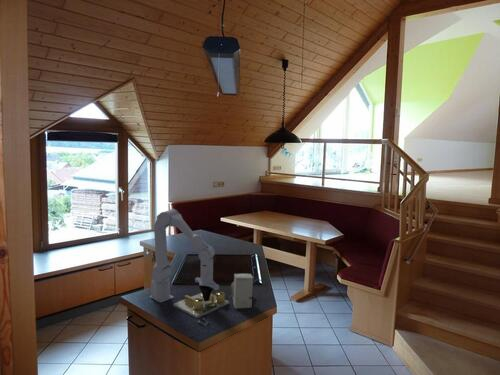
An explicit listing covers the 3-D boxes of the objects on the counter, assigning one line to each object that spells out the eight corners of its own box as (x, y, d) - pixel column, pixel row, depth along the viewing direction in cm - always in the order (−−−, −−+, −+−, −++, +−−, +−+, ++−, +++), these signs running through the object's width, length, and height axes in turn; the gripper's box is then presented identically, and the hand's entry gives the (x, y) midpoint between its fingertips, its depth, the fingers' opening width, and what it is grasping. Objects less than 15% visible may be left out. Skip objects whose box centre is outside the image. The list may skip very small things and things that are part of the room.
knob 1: (205, 307, 162) (205, 299, 162) (197, 310, 159) (197, 302, 158) (189, 300, 169) (189, 292, 169) (181, 303, 166) (181, 295, 166)
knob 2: (200, 294, 176) (200, 286, 176) (208, 292, 178) (208, 285, 178) (208, 303, 166) (208, 295, 166) (217, 301, 168) (217, 293, 168)
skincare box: (234, 309, 165) (235, 278, 163) (232, 303, 171) (233, 273, 169) (252, 307, 166) (253, 277, 165) (250, 302, 172) (250, 272, 170)
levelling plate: (172, 306, 166) (172, 295, 165) (205, 293, 181) (205, 283, 180) (196, 318, 155) (196, 306, 154) (229, 303, 170) (229, 292, 169)
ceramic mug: (233, 292, 183) (233, 278, 182) (249, 293, 182) (249, 279, 181) (228, 301, 173) (228, 286, 172) (244, 303, 172) (244, 287, 170)
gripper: (190, 270, 168) (190, 298, 169) (211, 278, 158) (210, 308, 160) (201, 267, 173) (201, 294, 175) (222, 274, 164) (222, 303, 165)
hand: (206, 300), depth 168 cm, fingers closed
